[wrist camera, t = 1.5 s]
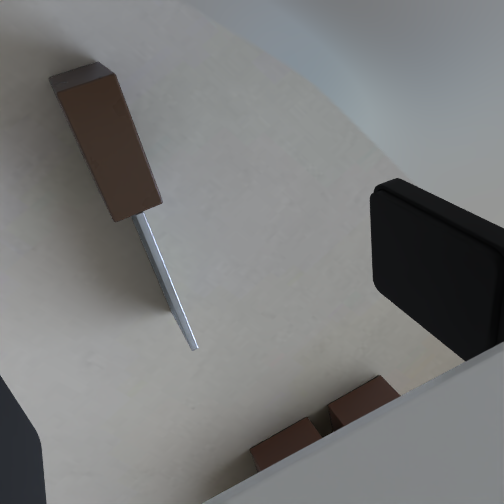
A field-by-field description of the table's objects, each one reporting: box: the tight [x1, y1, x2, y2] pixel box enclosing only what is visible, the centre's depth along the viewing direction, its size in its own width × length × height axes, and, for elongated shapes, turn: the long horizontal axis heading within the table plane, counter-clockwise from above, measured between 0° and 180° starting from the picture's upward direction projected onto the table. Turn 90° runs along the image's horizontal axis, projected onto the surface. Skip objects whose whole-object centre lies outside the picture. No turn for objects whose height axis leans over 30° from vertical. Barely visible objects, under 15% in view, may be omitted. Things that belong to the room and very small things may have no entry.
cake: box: [250, 375, 400, 472], centre depth 42 cm, size 13×13×6 cm
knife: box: [49, 62, 198, 351], centre depth 25 cm, size 15×2×4 cm, turn 14°
